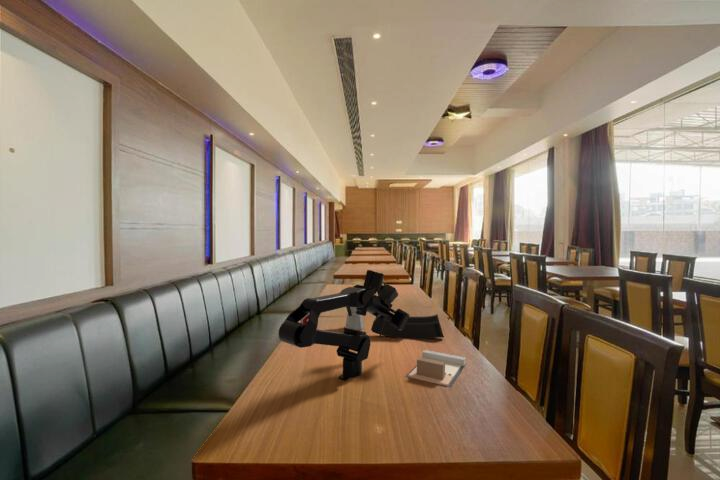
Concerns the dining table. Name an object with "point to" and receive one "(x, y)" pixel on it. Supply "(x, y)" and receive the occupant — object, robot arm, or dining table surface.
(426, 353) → the board
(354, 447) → the dining table surface
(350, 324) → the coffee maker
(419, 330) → the magazine
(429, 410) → the dining table surface
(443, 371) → the stub
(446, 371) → the ticket
